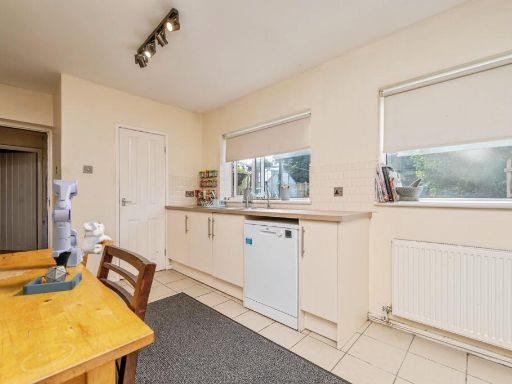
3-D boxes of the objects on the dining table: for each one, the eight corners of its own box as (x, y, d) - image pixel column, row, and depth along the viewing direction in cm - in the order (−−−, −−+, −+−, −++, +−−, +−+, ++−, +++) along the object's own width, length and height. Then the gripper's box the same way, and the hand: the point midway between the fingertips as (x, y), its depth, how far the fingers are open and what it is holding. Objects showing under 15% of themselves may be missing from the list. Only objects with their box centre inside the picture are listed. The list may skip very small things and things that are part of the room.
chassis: (82, 279, 106) (82, 272, 106) (72, 289, 95) (72, 281, 95) (38, 284, 101) (38, 276, 101) (22, 295, 90) (22, 286, 90)
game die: (50, 295, 99) (34, 275, 99) (72, 281, 106) (57, 262, 106) (54, 289, 94) (38, 268, 94) (78, 275, 101) (62, 255, 101)
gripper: (67, 240, 100) (67, 274, 100) (78, 234, 113) (78, 264, 113) (45, 241, 97) (45, 276, 97) (60, 235, 111) (60, 266, 111)
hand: (62, 270), depth 105 cm, fingers closed
